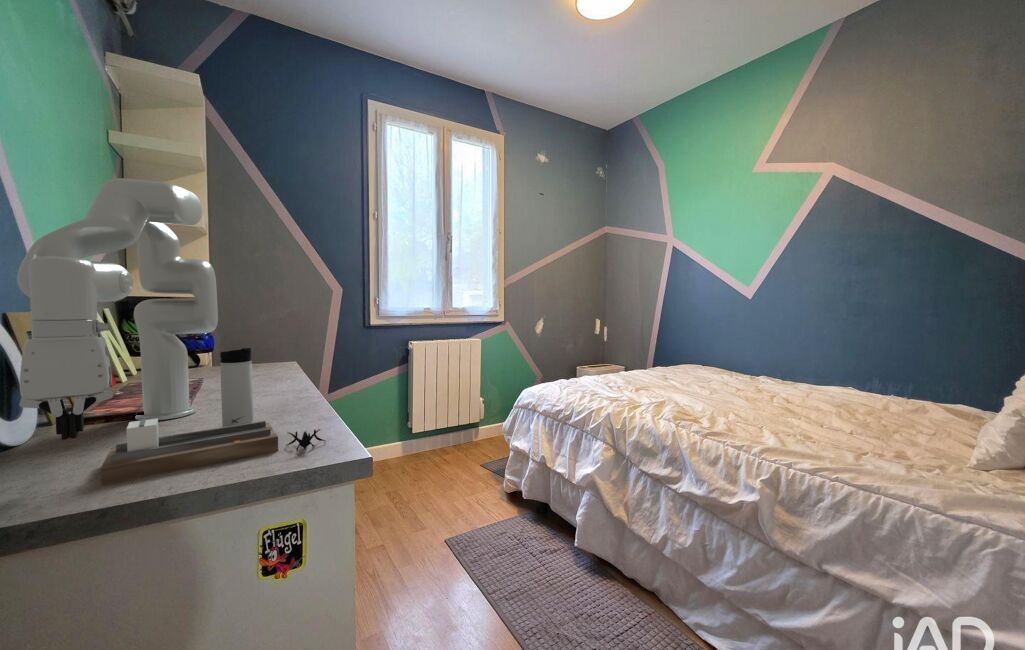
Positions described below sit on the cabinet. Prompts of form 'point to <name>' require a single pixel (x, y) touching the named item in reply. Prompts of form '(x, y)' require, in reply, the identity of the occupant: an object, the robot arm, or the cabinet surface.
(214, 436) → the fader console
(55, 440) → the cabinet surface
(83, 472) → the cabinet surface
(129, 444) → the fader tab
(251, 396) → the travel mug
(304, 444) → the creature
